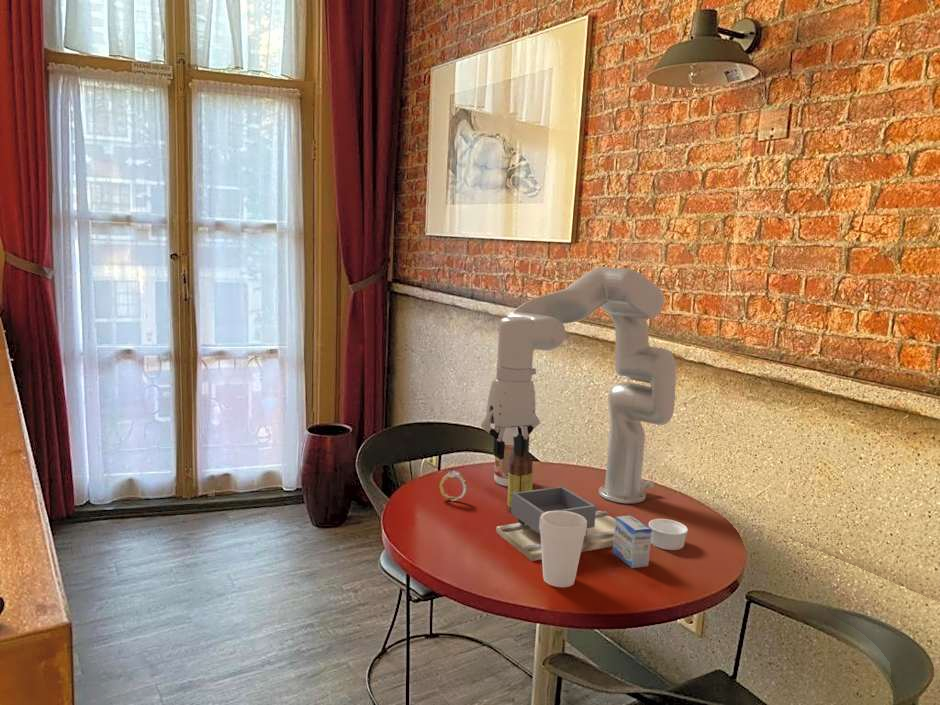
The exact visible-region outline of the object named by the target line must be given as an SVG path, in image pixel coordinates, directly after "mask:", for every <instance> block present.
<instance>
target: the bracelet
mask: <svg viewBox="0 0 940 705" xmlns="http://www.w3.org/2000/svg"><path fill="white" fill-rule="evenodd" d="M461 474H462V473H461V472H459V471H457V470H456V471H455V470H452V471H450V470H449V471H448V473H446V474H445V475H444V476H443V477H442V478H441V481H439V482H440V483H439V490H440V493H441V495H442V496H443V497H444V498H445V499H447V500H449V501H451V502H454V501H459V500H461V499H462V498H463V497H464V496H465V494H466V492H467V488H468V487H467V486H468V485H467V482H466V480H465V478H464V477H463V476H462V475H461ZM451 478H452V479H453V478H456V479H458V480H460V481H461V484H462V486H463V491H462V493H461V494H460V495H459V496H453V495H452V496H450V495H448V494H447V493H446V492H445V490H444V483H445V481H447V480H449V479H451Z"/></svg>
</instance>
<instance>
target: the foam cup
mask: <svg viewBox="0 0 940 705" xmlns="http://www.w3.org/2000/svg"><path fill="white" fill-rule="evenodd" d="M539 529H540V535H541V551H542V559H541V563H542V564H541V565H542V577H543V578H542V579H543V581H544V582H545V583H547V585H549V586H552V587H556V588H568V587H572V586H573V585H574V584H575V580H576V578H577V573H578V566H579V562H580V557H581V555H582V554H581V553H582V552H581V549H582V545H583V540H584V536H585V535H586V530H587V520H586V519H585V518H584V517H583V516H581V515H579V514H577V513H573V512H569V511H558V510H556V511H547V512H545V513H543V514H541V516H540V524H539Z"/></svg>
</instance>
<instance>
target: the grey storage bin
mask: <svg viewBox="0 0 940 705" xmlns="http://www.w3.org/2000/svg"><path fill="white" fill-rule="evenodd" d="M556 510H558V511H569V512H573V513H577V514H579V515H581V516H583V517H584V518H585V519H586V520H587V528H592V527H594V526H595V514H596V511H597V506H596V505H595V504H594V503H592V502H590V501H588V500H587V499H585V498H584V497H582V496H580V495H578V494H576V493H575V492H573V491H571V490H570V489H568V488H566V487H564V486H555V487H548V488H540V489H532V490H530V491H523V492H515V493H512V503H511V512H510V514H511V515H513V516H514V517H516V521H517V523H520V524H526V525H528V526H529V527H530V528H532V529H533V530H535V531H536V532H537V533H539V534H540V529H539V524H540V516H541V514H543V513H545V512H547V511H556ZM586 534H587V530H586ZM585 536H586V535H585Z"/></svg>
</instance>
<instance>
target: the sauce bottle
mask: <svg viewBox="0 0 940 705" xmlns="http://www.w3.org/2000/svg"><path fill="white" fill-rule="evenodd" d="M517 435H518V434H515V435H514V436H513V441H514V445H515V437H516V436H517ZM528 444H529V445H530V442H529V435H528V439H526V443H525V452H524V457H520V456H518V455H516V454H514V449H513V454H512V455H511V457H510V459H509V470H508V486H507V509H508V511H509V512H510V513H511V503H512V493H515V492H523V491H530V490H533V479H534V477H533V476H534V474H533V459H532V457H531V454H530V449H529V450H528Z"/></svg>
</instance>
